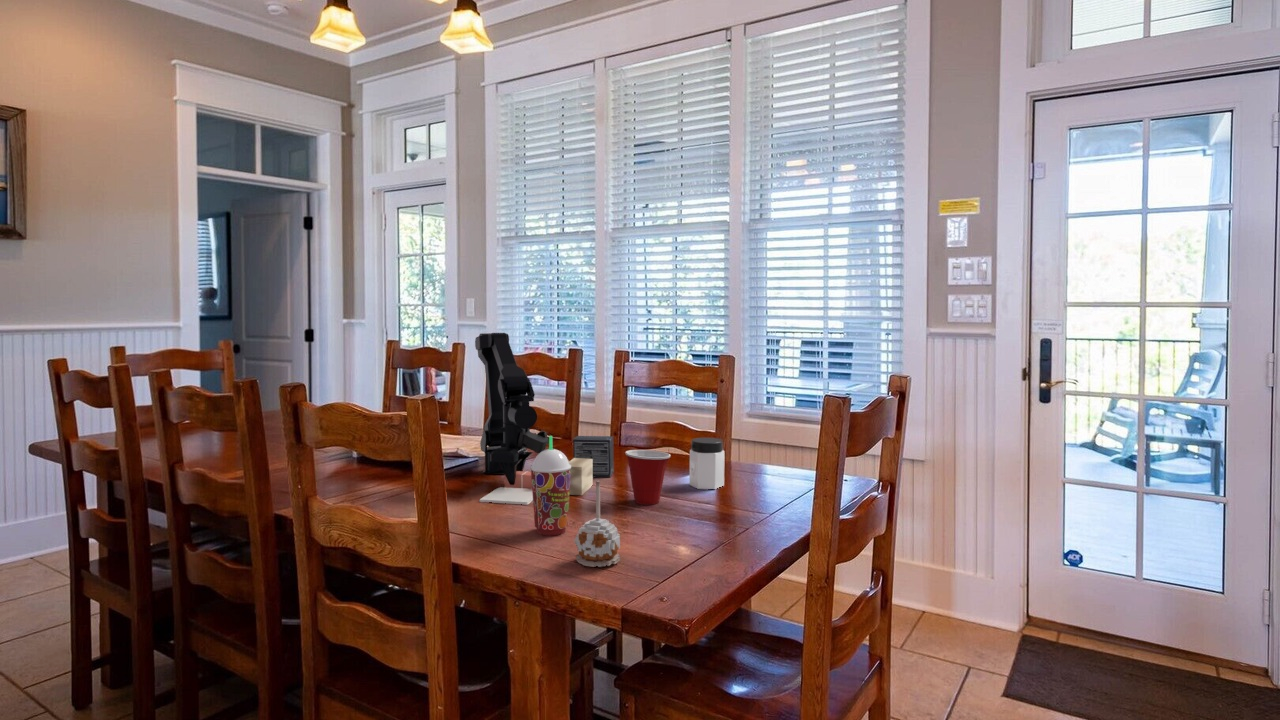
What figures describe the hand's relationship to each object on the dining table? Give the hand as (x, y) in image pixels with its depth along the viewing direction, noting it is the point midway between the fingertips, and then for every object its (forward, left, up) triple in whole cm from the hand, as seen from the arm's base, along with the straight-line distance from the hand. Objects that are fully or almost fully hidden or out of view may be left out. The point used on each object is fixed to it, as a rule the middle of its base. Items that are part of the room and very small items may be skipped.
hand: (515, 482), depth 188 cm
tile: (+3, -10, -1) cm, 11 cm away
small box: (+16, +17, -1) cm, 24 cm away
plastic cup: (+36, -7, -1) cm, 37 cm away
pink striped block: (+5, 0, -1) cm, 5 cm away
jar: (+48, +11, -1) cm, 50 cm away
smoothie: (+21, -34, -1) cm, 40 cm away
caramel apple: (+35, -49, -1) cm, 61 cm away
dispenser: (+14, 0, -1) cm, 14 cm away
